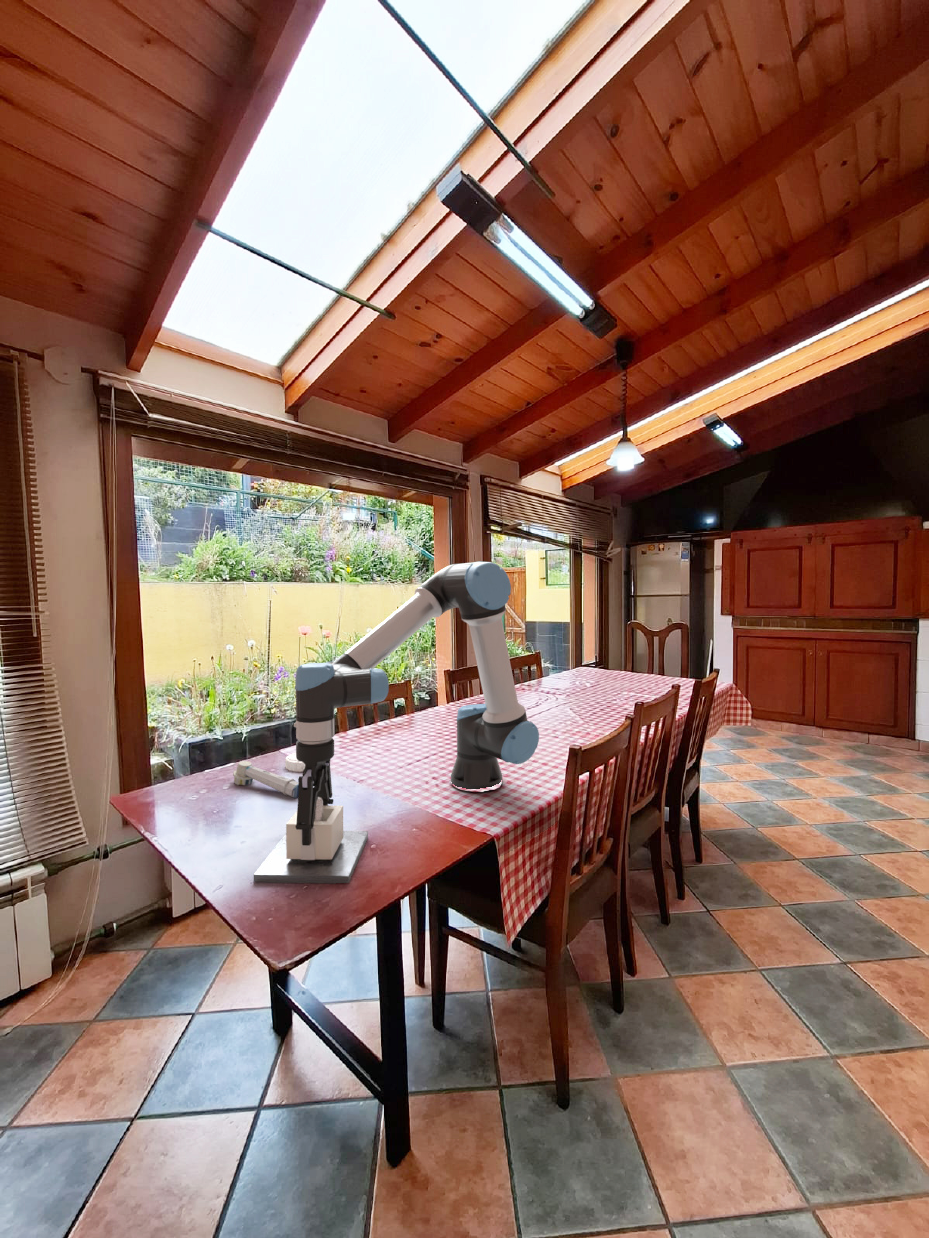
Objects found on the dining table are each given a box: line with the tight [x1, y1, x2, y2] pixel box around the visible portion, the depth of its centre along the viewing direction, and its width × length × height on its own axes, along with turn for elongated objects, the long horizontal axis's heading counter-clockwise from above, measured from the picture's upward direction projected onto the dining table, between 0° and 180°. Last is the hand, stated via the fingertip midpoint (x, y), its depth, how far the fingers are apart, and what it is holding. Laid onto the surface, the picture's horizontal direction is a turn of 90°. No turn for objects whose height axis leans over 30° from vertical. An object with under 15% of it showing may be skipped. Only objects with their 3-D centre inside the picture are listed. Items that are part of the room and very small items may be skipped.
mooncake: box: [284, 751, 305, 773], centre depth 160 cm, size 12×12×4 cm
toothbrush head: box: [232, 760, 299, 799], centre depth 140 cm, size 5×7×25 cm
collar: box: [285, 805, 344, 859], centre depth 103 cm, size 9×9×7 cm
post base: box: [253, 796, 369, 884], centre depth 103 cm, size 18×18×13 cm
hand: (315, 846), depth 103 cm, fingers closed on collar, 9 cm apart
